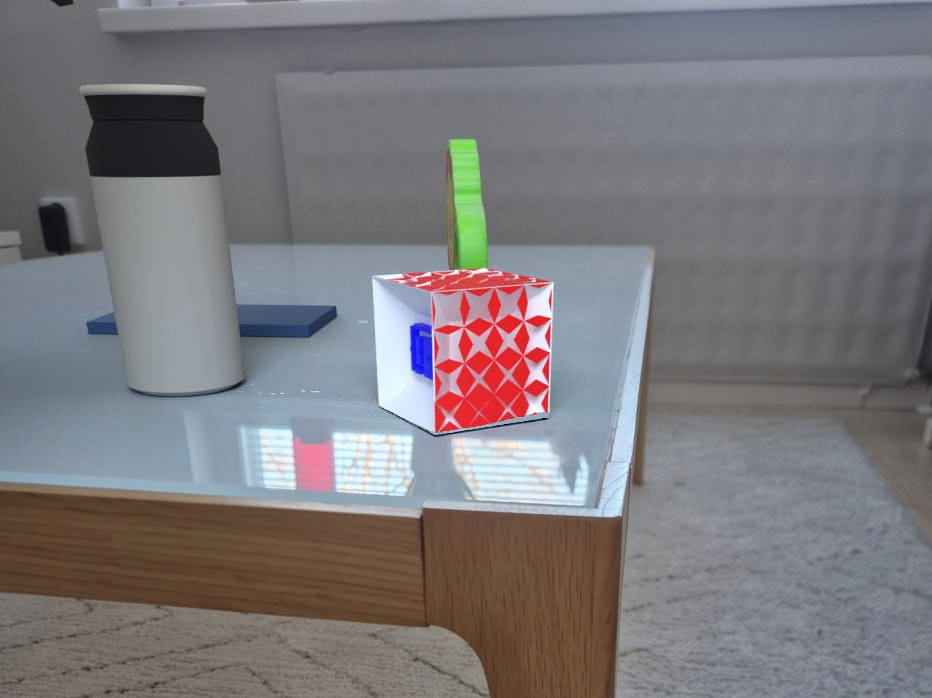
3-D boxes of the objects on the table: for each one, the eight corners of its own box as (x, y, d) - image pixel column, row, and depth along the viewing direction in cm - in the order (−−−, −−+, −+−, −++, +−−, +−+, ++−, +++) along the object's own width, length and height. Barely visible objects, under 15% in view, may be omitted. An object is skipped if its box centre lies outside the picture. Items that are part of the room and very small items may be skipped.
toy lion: (509, 364, 72) (513, 138, 65) (438, 365, 71) (434, 138, 64) (488, 328, 86) (489, 139, 79) (429, 328, 85) (424, 139, 78)
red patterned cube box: (549, 418, 58) (553, 281, 54) (435, 436, 54) (431, 291, 50) (484, 392, 64) (484, 267, 60) (378, 406, 60) (371, 275, 57)
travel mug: (231, 398, 62) (191, 83, 54) (111, 398, 62) (52, 83, 54) (255, 372, 69) (224, 89, 61) (147, 372, 69) (101, 90, 61)
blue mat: (88, 333, 83) (85, 321, 83) (138, 313, 93) (136, 303, 93) (309, 337, 82) (308, 325, 81) (337, 316, 91) (336, 305, 91)
